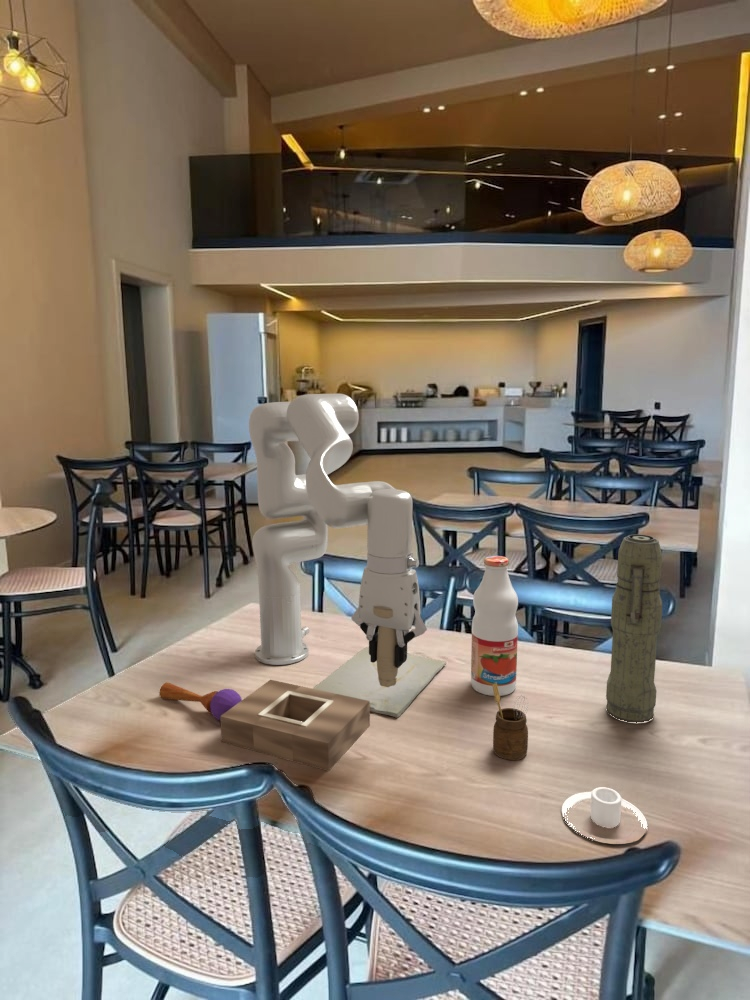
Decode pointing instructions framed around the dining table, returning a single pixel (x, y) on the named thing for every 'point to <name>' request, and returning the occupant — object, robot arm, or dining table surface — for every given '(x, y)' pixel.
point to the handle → (386, 650)
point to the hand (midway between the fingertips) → (387, 661)
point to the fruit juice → (494, 630)
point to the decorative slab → (364, 683)
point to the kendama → (203, 698)
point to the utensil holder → (510, 731)
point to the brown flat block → (296, 723)
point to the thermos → (635, 630)
